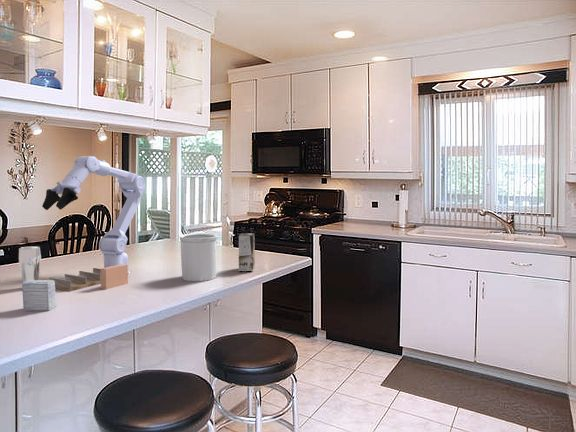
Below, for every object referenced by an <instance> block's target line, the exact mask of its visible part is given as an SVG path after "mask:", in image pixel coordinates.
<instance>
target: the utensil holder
mask: <svg viewBox="0 0 576 432" xmlns="http://www.w3.org/2000/svg"><path fill="white" fill-rule="evenodd" d="M179 240H180V241H179V242H180V258H181V259H180V261H181V278H182V279H183V280H184V281H187V282H207V280H208V281H212V280H214V279H215V278H217V240H218V235H217V234H215V233H207V232H201V233H199V232H195V233H185V234H181V235H179Z"/></svg>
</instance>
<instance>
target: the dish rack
mask: <svg viewBox="0 0 576 432" xmlns="http://www.w3.org/2000/svg"><path fill="white" fill-rule="evenodd" d="M78 273H79V275H76V274H75V275H74V274H68V273H65V274H64V279H63V278H58V277H57V278H56V277H51V276H50V277H49V278H48V280H54V281H55V290H56V289H57V290H61V291H67V292H72V291H76V290H81V289H84V288H89V287H93V286H97V285H101V268H96V267H92V271H91V272H89V271H83V270H79V271H78Z"/></svg>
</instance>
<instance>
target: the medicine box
mask: <svg viewBox="0 0 576 432" xmlns="http://www.w3.org/2000/svg"><path fill="white" fill-rule="evenodd" d="M22 283H23V282H22ZM22 283H21V289H22V290H21V291H22V307H23V312H28V311H30V312H31V311H33V312H34V311H38V312H39V311H42V312H43V311H48V312H49V311H51V310H53V309H54V308H55V307H57V301H56V300H57V298H56V297H57V295H56V288H55V281H54V280H49V279H46V280H45V279H44V280H43V279H39V280H30V281H27V282H25V283H23V284H22Z"/></svg>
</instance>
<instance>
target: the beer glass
mask: <svg viewBox="0 0 576 432" xmlns="http://www.w3.org/2000/svg"><path fill="white" fill-rule="evenodd" d="M41 253H42V252H41V247H40V246H37V245H36V246H32V245H31V246H21V247H20V248H18V264H19V269H20V272H21V273H20V274H21V278H22V283H21V285H22V284H23V283H25V282H27V281H30V280H40V274H41V273H40V272H41V266H42V254H41Z"/></svg>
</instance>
